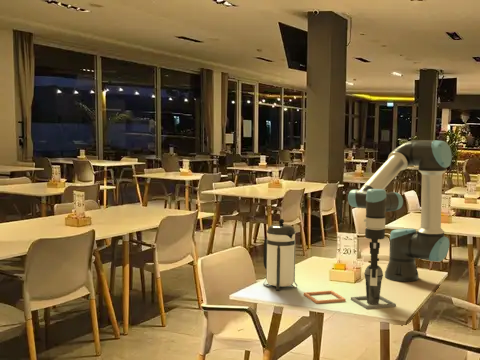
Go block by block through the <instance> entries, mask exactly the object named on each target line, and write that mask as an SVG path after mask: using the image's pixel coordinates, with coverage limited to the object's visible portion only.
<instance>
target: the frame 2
mask: <svg viewBox="0 0 480 360" xmlns="http://www.w3.org/2000/svg"><path fill="white" fill-rule="evenodd" d="M350 300H351V301H353V302H354V303H356V304H357V305H359V306H361V307H362V308H364V309H366V310H368V309H370V310H372V309H380V308H394V307H396V306H397V303H395V302H393V301H391V300H390V299H388V298H385V297H384V296H381V295H380V298H379V300H381V302H382V301H383V302H384V303H382V304H376V305H372V304H368V305H367V303H364V302H362V301H361V300H367V296H366V295H362V296H350Z"/></svg>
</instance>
